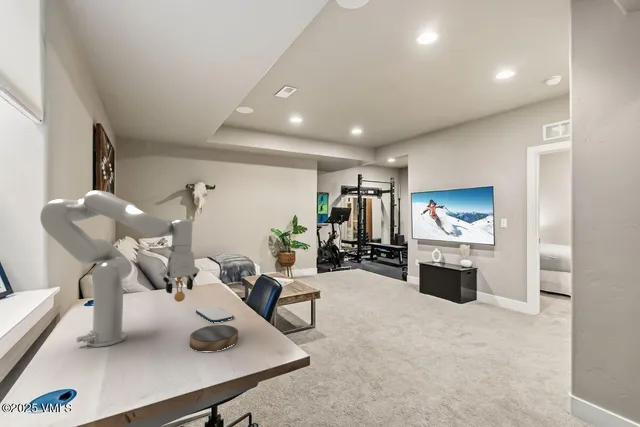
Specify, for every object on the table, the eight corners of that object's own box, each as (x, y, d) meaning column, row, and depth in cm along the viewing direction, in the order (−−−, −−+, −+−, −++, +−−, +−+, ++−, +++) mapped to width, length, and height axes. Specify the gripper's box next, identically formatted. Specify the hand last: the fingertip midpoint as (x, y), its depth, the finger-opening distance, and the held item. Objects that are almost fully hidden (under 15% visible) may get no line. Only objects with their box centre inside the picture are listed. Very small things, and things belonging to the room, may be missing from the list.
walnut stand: (207, 357, 104) (207, 345, 104) (180, 343, 115) (180, 333, 115) (247, 340, 119) (247, 330, 119) (220, 330, 129) (220, 320, 129)
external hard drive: (193, 312, 153) (193, 309, 153) (215, 308, 161) (215, 304, 161) (212, 325, 136) (212, 321, 136) (235, 319, 144) (235, 315, 144)
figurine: (169, 304, 118) (170, 274, 118) (166, 300, 123) (167, 271, 123) (191, 301, 123) (192, 272, 123) (187, 297, 128) (188, 270, 128)
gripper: (165, 251, 114) (162, 296, 114) (205, 248, 128) (203, 289, 128) (155, 249, 118) (153, 293, 118) (195, 247, 133) (194, 286, 132)
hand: (179, 290), depth 123 cm, fingers closed on figurine, 8 cm apart
